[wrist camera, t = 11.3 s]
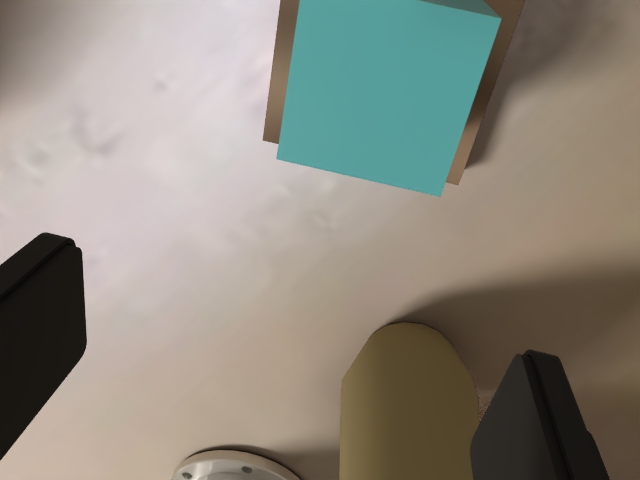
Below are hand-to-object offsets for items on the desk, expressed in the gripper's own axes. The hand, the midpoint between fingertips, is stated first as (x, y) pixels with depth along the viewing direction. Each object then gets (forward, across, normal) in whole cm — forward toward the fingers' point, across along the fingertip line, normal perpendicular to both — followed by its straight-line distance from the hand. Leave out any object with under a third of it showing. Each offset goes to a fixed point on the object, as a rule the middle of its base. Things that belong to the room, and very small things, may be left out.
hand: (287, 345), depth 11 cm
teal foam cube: (+16, -1, -3) cm, 16 cm away
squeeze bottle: (+18, -7, +15) cm, 24 cm away
